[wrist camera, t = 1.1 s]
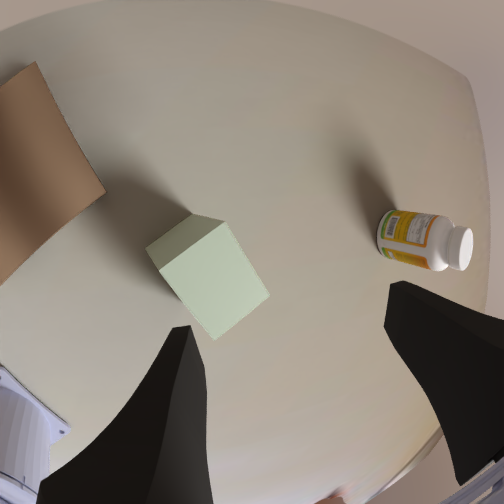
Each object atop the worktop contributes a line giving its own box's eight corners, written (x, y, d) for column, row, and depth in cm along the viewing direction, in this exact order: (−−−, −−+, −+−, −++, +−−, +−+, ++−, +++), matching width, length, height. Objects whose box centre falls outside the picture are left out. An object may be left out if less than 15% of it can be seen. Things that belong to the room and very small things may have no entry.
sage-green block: (185, 303, 20) (214, 341, 15) (144, 248, 18) (158, 270, 13) (228, 270, 22) (270, 295, 16) (192, 213, 20) (224, 221, 14)
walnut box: (4, 282, 14) (-10, 296, 12) (-57, 169, 10) (-76, 167, 8) (107, 192, 17) (106, 191, 14) (43, 78, 13) (35, 61, 10)
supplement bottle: (403, 248, 31) (474, 265, 23) (377, 264, 29) (454, 288, 21) (400, 204, 30) (476, 214, 21) (372, 216, 28) (457, 229, 19)
